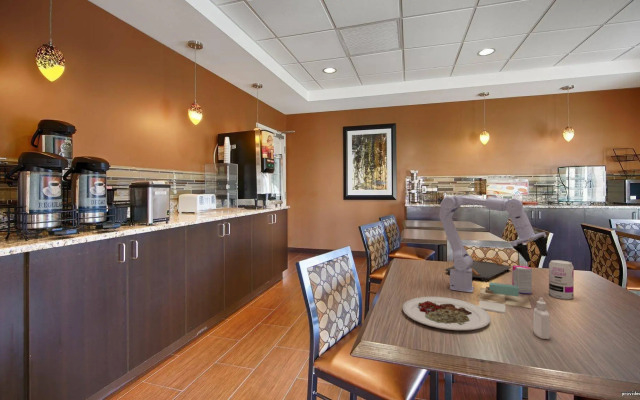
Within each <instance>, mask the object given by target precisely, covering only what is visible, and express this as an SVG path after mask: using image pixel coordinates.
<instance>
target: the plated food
mask: <svg viewBox="0 0 640 400" xmlns="http://www.w3.org/2000/svg"><path fill="white" fill-rule="evenodd" d="M478 306H479V305H476V304H473V303H471V302H468V301H465V300H460V299H456V298H452V297H451V298H450V297H444V296H422V297H421V296H420V297H414V298H411V299H409V300H406V301H405V302H403V304H402V311H403V312H404V314H405V315H406V316H407V317H408V318H410V319H412V320H413V321H415V322H418V323H419V324H423V325H426V326H429V327H433V328H437V329H443V330H448V331H449V330H452V331H472V330H478V329H482V328H484V327H486V326H488V325H489V324H490V323H491V315H490V314H489V313H488V312H487V311H486V310H484V309H482V308H480V307H478Z"/></svg>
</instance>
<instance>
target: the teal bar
mask: <svg viewBox="0 0 640 400" xmlns="http://www.w3.org/2000/svg"><path fill="white" fill-rule="evenodd" d="M488 287H489V291H493V293H496V294H503V295H509V296H517V297H520V294H519V287H518V286H516V285H512V284H508V283H501V282H499V283H498V282H490V281H489V282H488Z"/></svg>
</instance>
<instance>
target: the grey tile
mask: <svg viewBox="0 0 640 400" xmlns="http://www.w3.org/2000/svg"><path fill="white" fill-rule="evenodd" d="M478 302H479V304H478V305H477V306H478V307H480V308H482V309H484V310H485V311H486V312H487V311H488V312H494V313H499V314H505V315H506V305H505V304H501V303H494V302H488V301H481V300H480V301H479V300H478Z"/></svg>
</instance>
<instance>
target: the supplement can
mask: <svg viewBox="0 0 640 400" xmlns="http://www.w3.org/2000/svg"><path fill="white" fill-rule="evenodd" d="M574 271H575V269H574V265H573V264H572V262H571V261H567V260H559V259H553V260H552V259H551V260H550V261H549V264H548V294H549V295H550V296H551V297H553V298H555V299H559V300H567V301H568V300H572V299H573V298H574V295H575V293H574V286H575V285H574V283H575V282H574V281H575V279H574V275H575V274H574V273H575V272H574Z"/></svg>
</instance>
